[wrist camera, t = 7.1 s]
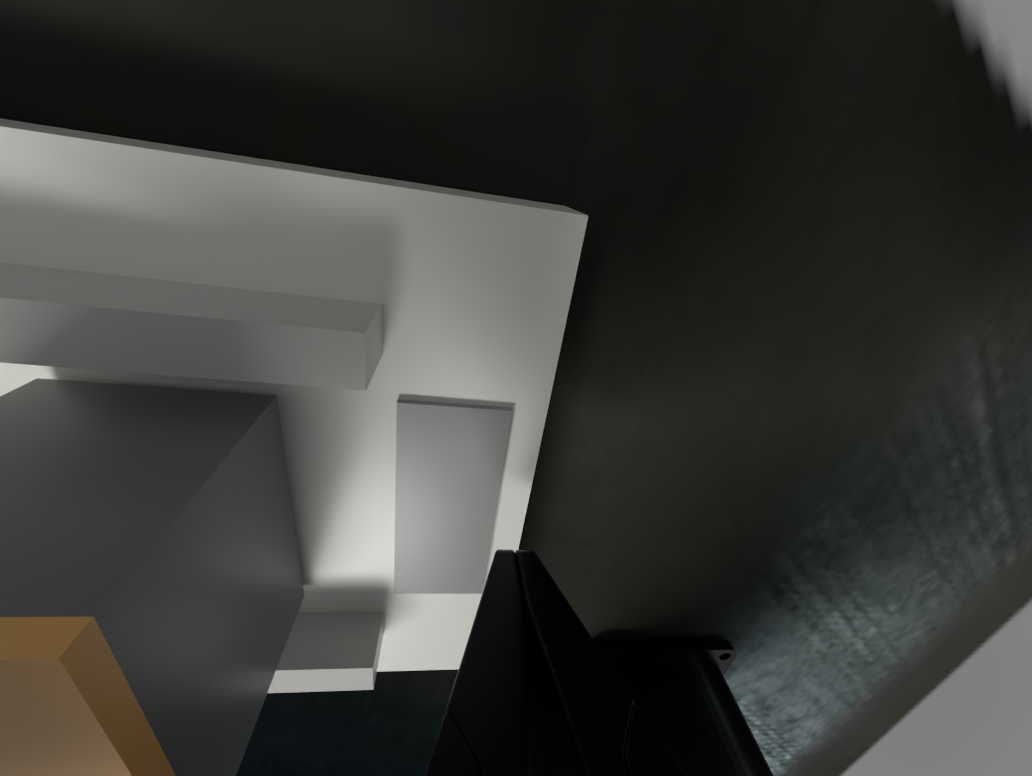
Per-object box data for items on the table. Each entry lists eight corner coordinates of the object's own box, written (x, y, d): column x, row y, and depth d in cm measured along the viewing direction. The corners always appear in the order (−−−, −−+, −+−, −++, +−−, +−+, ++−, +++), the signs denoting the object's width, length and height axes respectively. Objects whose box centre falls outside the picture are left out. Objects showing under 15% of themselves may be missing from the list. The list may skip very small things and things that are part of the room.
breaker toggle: (277, 395, 8) (58, 658, 4) (304, 595, 11) (196, 879, 6) (37, 377, 7) (-552, 670, 3) (131, 594, 10) (-115, 908, 6)
